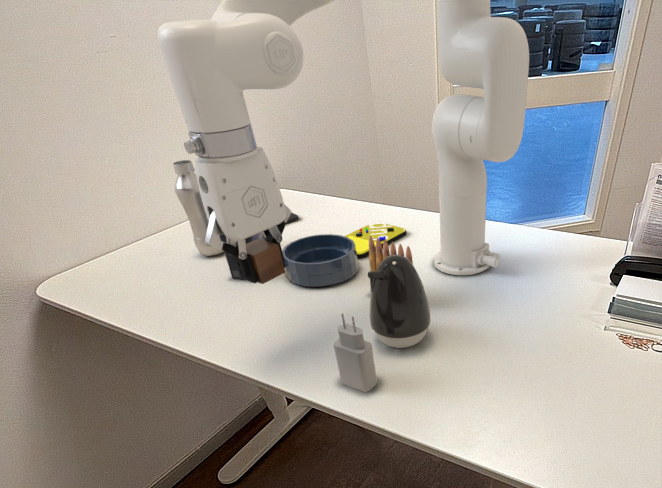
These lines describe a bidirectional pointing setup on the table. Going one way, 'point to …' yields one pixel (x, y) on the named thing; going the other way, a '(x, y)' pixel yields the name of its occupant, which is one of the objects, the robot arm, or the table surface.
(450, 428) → the table surface
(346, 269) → the bowl
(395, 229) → the yellow toy board
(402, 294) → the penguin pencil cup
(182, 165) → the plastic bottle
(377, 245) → the ammunition clip
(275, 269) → the block
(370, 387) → the power adapter
